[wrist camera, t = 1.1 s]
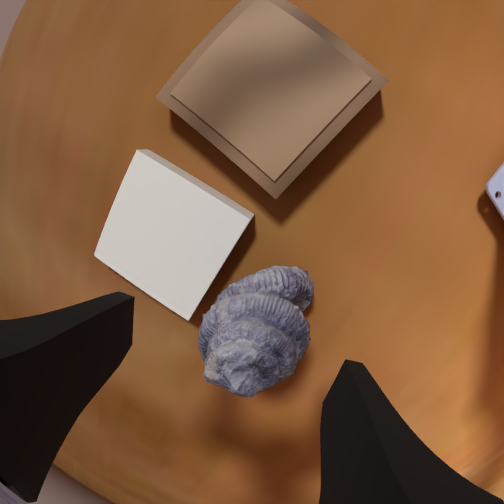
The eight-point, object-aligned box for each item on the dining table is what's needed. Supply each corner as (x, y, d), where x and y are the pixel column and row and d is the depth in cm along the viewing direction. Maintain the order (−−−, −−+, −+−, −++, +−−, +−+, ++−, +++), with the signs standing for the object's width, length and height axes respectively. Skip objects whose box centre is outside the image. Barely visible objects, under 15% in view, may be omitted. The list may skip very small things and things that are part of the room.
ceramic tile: (254, 214, 19) (250, 219, 18) (195, 310, 22) (188, 320, 20) (148, 149, 19) (136, 149, 17) (105, 248, 22) (93, 255, 20)
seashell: (283, 333, 21) (264, 449, 12) (216, 293, 21) (154, 392, 12) (330, 273, 20) (345, 378, 10) (256, 227, 19) (209, 300, 10)
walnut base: (380, 87, 16) (389, 80, 14) (278, 194, 19) (275, 200, 17) (263, -2, 15) (258, -18, 13) (169, 101, 18) (153, 96, 16)
